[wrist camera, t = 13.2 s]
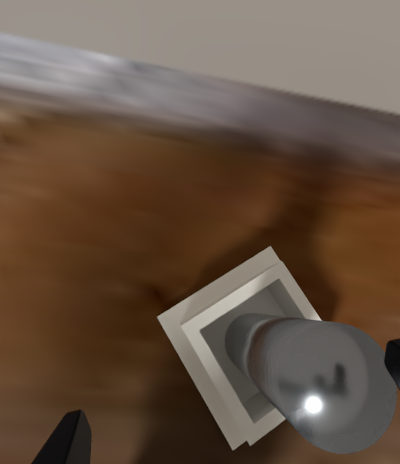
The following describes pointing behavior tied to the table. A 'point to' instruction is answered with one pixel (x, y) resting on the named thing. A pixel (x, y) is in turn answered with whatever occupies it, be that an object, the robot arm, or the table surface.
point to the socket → (213, 341)
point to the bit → (317, 377)
